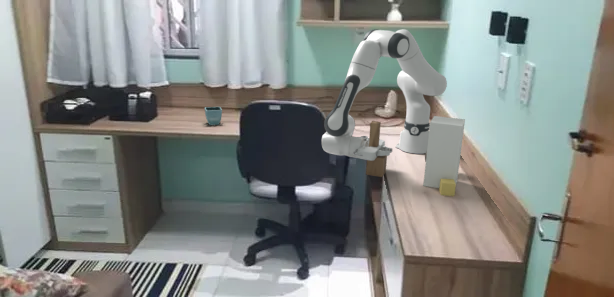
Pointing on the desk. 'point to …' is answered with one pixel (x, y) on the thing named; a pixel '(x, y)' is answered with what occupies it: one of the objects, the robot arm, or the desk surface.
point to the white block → (443, 150)
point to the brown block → (380, 162)
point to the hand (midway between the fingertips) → (390, 152)
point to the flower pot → (213, 115)
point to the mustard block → (447, 187)
